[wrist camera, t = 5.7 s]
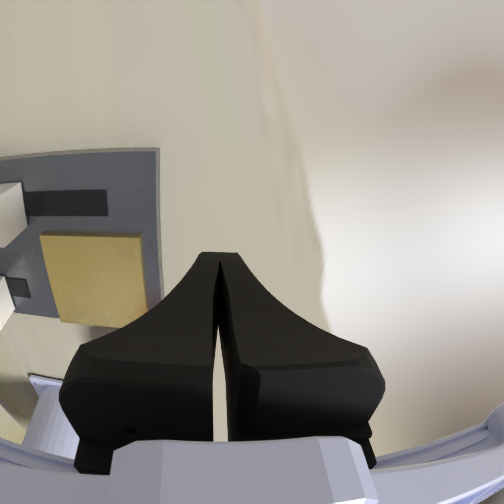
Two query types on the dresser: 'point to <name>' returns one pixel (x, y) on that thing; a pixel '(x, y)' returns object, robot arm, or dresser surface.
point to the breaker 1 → (11, 212)
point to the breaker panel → (86, 235)
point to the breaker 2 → (5, 302)
